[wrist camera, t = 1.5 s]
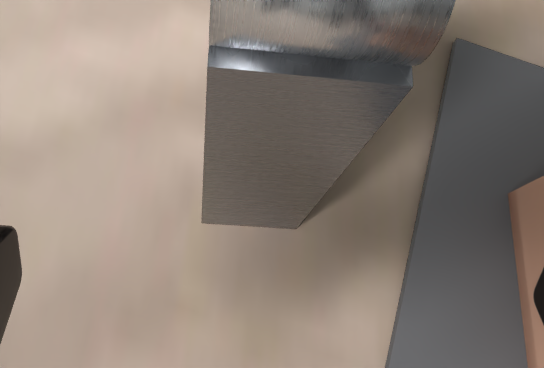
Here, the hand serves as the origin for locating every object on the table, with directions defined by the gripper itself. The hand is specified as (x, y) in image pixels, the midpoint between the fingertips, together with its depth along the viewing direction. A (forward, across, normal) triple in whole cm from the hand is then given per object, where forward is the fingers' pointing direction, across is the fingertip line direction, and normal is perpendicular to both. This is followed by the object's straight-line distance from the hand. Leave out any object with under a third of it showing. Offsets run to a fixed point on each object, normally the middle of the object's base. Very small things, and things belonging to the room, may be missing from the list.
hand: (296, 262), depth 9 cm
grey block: (+12, 0, +5) cm, 13 cm away
